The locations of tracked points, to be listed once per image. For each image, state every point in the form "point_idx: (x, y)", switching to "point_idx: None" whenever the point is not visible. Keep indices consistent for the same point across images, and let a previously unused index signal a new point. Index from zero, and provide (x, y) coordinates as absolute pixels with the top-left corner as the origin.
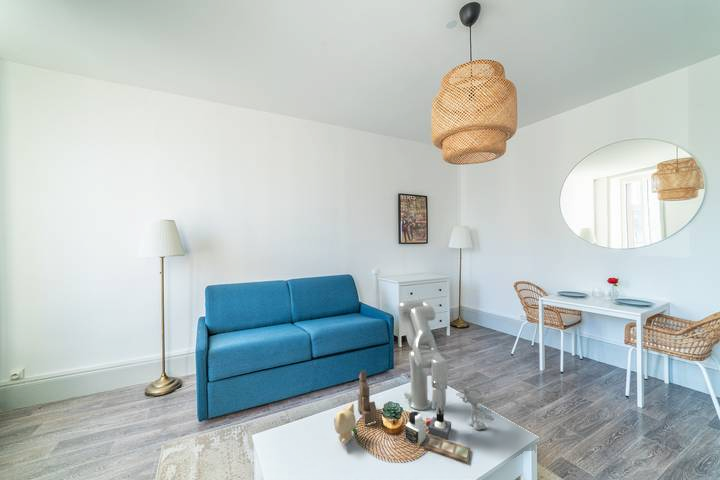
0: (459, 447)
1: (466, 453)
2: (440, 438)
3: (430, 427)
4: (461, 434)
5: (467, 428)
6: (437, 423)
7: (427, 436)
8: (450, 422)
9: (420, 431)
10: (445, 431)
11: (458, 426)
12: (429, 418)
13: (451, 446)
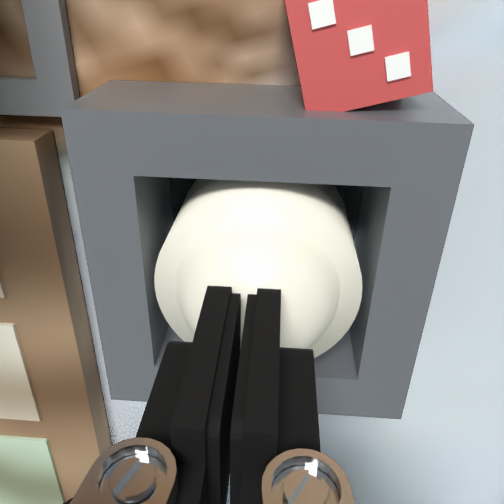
0: (45, 458)
1: (11, 501)
2: (58, 280)
3: (67, 148)
4: (319, 434)
5: (453, 474)
6: (191, 278)
7: (16, 83)
8: (381, 412)
9: None
10: (119, 377)
11: (464, 404)
12: (421, 34)
13: (3, 400)
